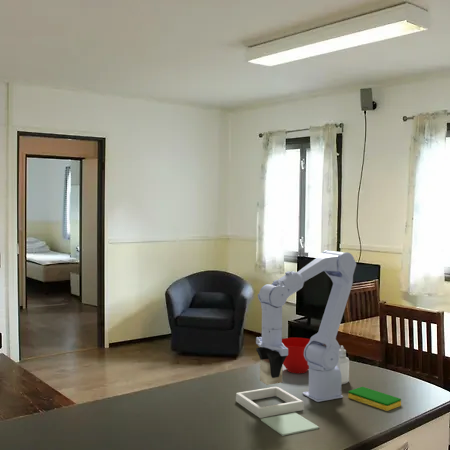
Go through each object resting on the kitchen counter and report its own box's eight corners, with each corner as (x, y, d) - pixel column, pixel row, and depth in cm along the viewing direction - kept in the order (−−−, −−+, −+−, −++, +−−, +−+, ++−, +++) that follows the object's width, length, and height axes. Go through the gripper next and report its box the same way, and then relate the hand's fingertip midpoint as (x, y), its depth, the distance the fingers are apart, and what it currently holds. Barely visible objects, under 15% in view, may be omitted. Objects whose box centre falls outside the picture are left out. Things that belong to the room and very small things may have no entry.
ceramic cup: (317, 381, 186) (318, 350, 185) (271, 372, 195) (272, 343, 195) (332, 371, 197) (333, 342, 196) (288, 363, 206) (289, 335, 205)
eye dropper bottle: (352, 384, 183) (353, 347, 183) (336, 385, 182) (336, 348, 181) (346, 379, 187) (347, 343, 187) (330, 380, 186) (331, 344, 186)
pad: (295, 413, 157) (295, 412, 157) (318, 428, 147) (318, 426, 147) (260, 420, 152) (260, 418, 152) (282, 435, 143) (282, 434, 143)
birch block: (275, 378, 164) (275, 357, 164) (282, 382, 161) (282, 361, 161) (259, 380, 162) (260, 359, 162) (266, 384, 159) (267, 363, 158)
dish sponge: (362, 393, 175) (362, 386, 175) (401, 406, 165) (401, 398, 164) (347, 398, 171) (347, 390, 171) (387, 412, 160) (387, 404, 160)
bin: (276, 394, 173) (277, 386, 173) (303, 410, 160) (303, 401, 160) (235, 401, 167) (236, 392, 166) (259, 418, 154) (259, 408, 154)
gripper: (247, 323, 166) (246, 369, 166) (272, 334, 153) (272, 384, 153) (268, 321, 169) (267, 366, 169) (295, 331, 156) (294, 380, 156)
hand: (271, 374), depth 161 cm, fingers closed on birch block, 4 cm apart
